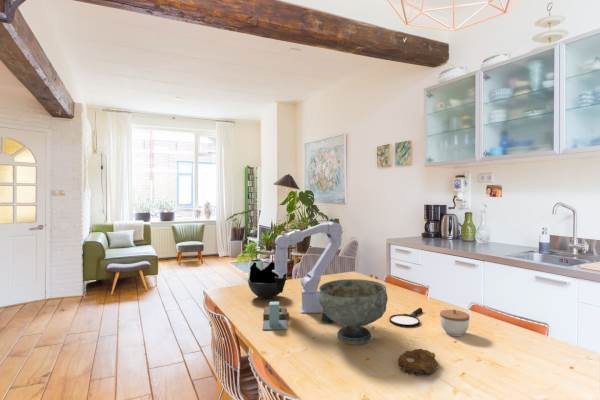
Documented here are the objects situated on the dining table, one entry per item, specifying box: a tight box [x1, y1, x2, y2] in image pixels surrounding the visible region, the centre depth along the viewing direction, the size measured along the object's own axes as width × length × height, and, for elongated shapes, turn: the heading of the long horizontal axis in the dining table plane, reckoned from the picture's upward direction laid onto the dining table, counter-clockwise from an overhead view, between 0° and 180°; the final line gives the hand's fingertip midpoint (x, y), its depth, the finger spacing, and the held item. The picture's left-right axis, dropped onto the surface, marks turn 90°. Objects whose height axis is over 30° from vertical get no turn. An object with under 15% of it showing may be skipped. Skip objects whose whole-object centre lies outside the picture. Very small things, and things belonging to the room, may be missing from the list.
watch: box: [321, 312, 335, 324], centre depth 154 cm, size 6×8×11 cm
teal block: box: [268, 301, 280, 326], centre depth 149 cm, size 4×4×9 cm
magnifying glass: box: [389, 307, 423, 328], centre depth 157 cm, size 12×24×2 cm, turn 139°
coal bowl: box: [247, 261, 286, 299], centre depth 189 cm, size 20×20×19 cm
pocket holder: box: [262, 306, 288, 321], centre depth 161 cm, size 10×10×2 cm
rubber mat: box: [262, 319, 288, 331], centre depth 149 cm, size 10×10×1 cm
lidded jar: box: [439, 309, 470, 337], centre depth 140 cm, size 11×11×9 cm
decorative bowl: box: [318, 278, 389, 345], centre depth 136 cm, size 26×26×20 cm
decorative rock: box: [397, 348, 439, 376], centre depth 113 cm, size 11×4×15 cm
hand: (280, 290), depth 165 cm, fingers open, 7 cm apart
